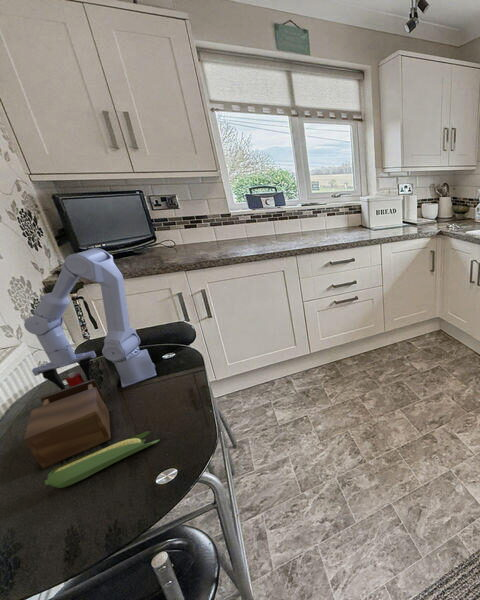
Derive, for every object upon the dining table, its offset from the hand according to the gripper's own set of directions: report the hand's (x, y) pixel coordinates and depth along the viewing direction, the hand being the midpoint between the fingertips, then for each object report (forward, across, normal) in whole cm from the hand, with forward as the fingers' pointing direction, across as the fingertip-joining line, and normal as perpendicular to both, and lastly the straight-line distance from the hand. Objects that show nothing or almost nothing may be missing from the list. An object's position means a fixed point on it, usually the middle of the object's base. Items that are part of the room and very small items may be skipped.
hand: (76, 384), depth 108 cm
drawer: (0, +1, -22) cm, 22 cm away
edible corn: (+2, +8, -51) cm, 52 cm away
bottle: (+1, 0, 0) cm, 1 cm away
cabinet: (+1, +2, -33) cm, 33 cm away
